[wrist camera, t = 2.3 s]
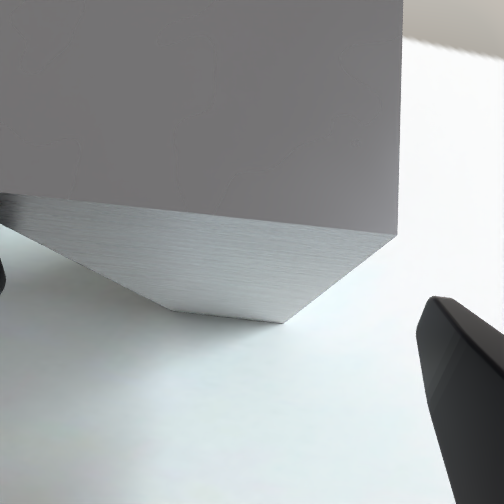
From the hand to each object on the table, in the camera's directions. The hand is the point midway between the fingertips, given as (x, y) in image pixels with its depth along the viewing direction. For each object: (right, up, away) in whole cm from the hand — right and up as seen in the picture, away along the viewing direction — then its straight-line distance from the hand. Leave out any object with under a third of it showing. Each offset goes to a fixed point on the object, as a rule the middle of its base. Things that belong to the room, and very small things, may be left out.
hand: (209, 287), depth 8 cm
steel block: (0, 0, +10) cm, 10 cm away
